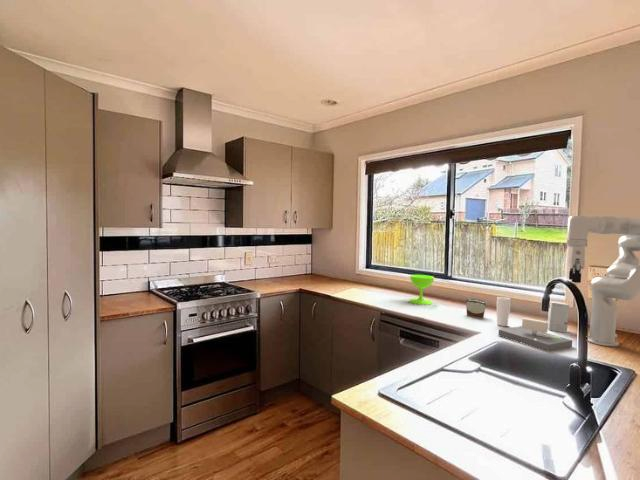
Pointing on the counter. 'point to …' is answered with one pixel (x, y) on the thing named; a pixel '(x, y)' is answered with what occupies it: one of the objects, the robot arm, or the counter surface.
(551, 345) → the dial plate
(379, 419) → the counter surface
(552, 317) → the skincare box
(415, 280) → the wineglass
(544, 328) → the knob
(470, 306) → the food container
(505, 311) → the drinking glass
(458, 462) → the counter surface
